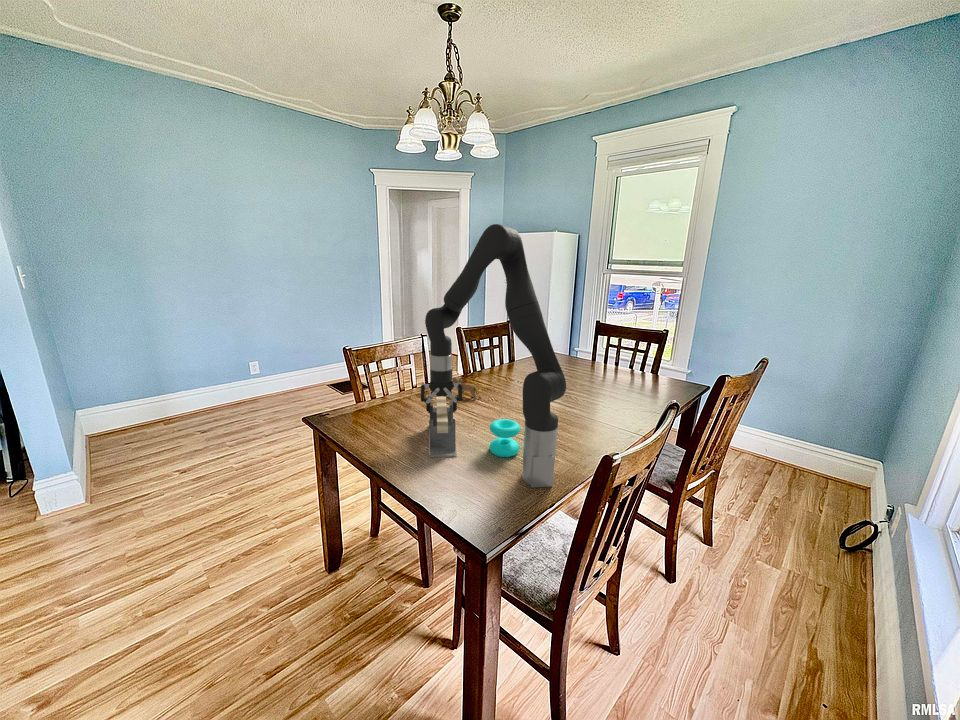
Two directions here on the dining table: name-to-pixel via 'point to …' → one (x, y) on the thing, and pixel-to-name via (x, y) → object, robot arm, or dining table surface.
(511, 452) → the turquoise hourglass-shaped piece
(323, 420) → the dining table surface
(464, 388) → the lion figurine
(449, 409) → the cradle bracket stand
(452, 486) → the dining table surface
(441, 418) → the birch rail
